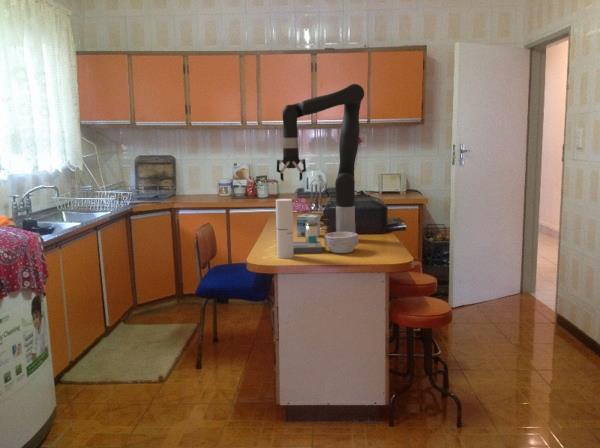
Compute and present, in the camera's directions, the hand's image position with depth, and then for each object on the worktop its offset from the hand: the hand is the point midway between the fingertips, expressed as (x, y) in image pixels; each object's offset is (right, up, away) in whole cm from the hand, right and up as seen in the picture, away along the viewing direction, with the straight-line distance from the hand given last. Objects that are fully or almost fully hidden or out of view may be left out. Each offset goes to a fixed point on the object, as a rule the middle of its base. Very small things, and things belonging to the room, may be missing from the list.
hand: (291, 180), depth 265 cm
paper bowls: (+23, -34, -18) cm, 45 cm away
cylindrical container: (-2, -35, -26) cm, 44 cm away
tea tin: (+10, -30, -15) cm, 35 cm away
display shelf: (+5, -33, -14) cm, 36 cm away
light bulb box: (+9, -27, +19) cm, 34 cm away
